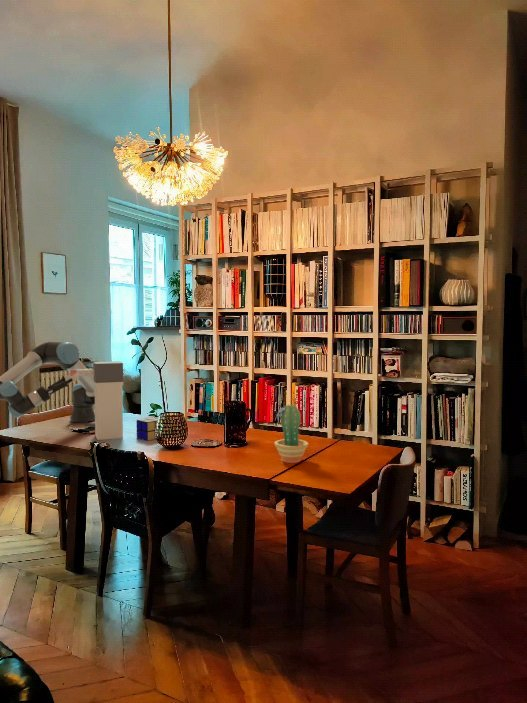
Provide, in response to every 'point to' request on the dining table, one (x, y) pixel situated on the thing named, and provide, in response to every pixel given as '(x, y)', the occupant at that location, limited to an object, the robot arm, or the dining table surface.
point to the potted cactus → (290, 435)
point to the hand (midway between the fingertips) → (77, 374)
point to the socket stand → (108, 400)
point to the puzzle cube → (146, 428)
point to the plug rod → (83, 372)
